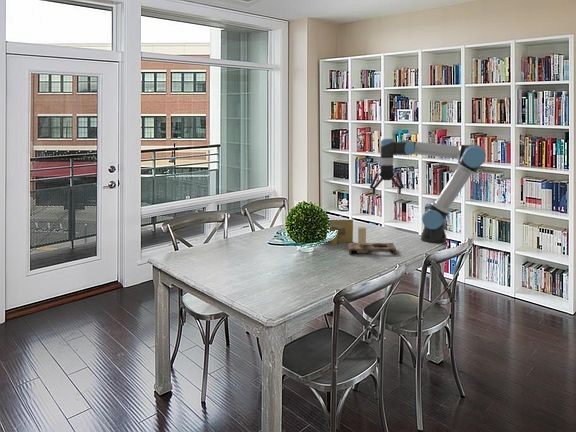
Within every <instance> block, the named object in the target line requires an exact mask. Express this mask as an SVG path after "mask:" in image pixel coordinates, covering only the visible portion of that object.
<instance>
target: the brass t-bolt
mask: <svg viewBox="0 0 576 432" xmlns="http://www.w3.org/2000/svg"><path fill="white" fill-rule="evenodd" d="M357 229H358V231H357V232H358V235H357V236H358V237H357V238H358V239H357V243H359V244H360V246H364V244H366V243H367V228H366V227H365V226H359V227H357ZM355 251H356V254H368V252H369V250H355Z"/></svg>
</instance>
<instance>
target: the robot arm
mask: <svg viewBox="0 0 576 432" xmlns="http://www.w3.org/2000/svg"><path fill="white" fill-rule="evenodd" d="M394 140H395V139H394V138H382V139H381V140H380V173H378V172H375V174H374V177H373V179H372V181H371V184H370V185H369V188H370V189H372V195H374V197H373V199H374V201H377V189H376V188H377V187H378V186H379V185H380V184H381V183H382V182H383V181H392V182H393V184H394V185H395V186H396V187H397V189H396V200H397V201H400V195H401V193H402V189H404V188H405V186H404V184H403V182H402V180H401V178H400V175H399V172H396V171H395V172H394V156H399V155H400V156H401V155H403V156H404V155H406V156H409V155H410V156H411V155H417V156H418V155H420V156H428V157H436V158H437V157H438V158H446V159H454V160H458V161H457V168H455V170H454V172H452V173H453V174H452V175H451V176H450V178H449V179H448V181H447V182H446V184H445V186H444V187H443V189H442V191H440V193H439V194H438V197H437V198H436V199H435V200H434V201H431V202H427V203H425V205H424V213H423V214H422V218H421V221H422V224H423V225H424V226H423V230H422V233H421V236H420V240H421V241H423V242H426V243H445V242H446V241H447V234H446V231H445V220H446V217H448V215H449V213H450V212H449V208H450V207H451V205H452V204H453V202H454V201H455V199H456V198H457V197H458V195H459V194H460V192H461V191H462V189H463V188H464V187H465V184H466V183H467V182H468V180H469V179H470V177H471V176H472V175H473V174H476V173H477V171H479V169H480V167H481V166H482V165H483V164H484V163H485V161H486V158H487V155H486V152H485V149H484V148H483V147H482V146H481V145H478V144H460V145H452V144H451V145H450V144H449V145H448V144H441V143H433V142H432V143H431V142H430V143H429V142H420V141H414V140H413V141H411V140H404V141H394ZM394 176H395V177H396V178H397V181H398V182H397V181H396V180H395V179H394ZM378 177H380V178H379V179H378ZM377 179H378V181H377ZM376 181H377V182H376ZM399 184H400V185H399Z"/></svg>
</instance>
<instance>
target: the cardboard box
mask: <svg viewBox="0 0 576 432" xmlns="http://www.w3.org/2000/svg"><path fill="white" fill-rule="evenodd" d="M329 220H330V232H331V231H335V230H338V233H337V235H336V237H335V238H334V239H333V240H331V241H330V242H329V243H331V246H335V245H338V244H337V243H354V242H353V241H354V220H353V219H329Z"/></svg>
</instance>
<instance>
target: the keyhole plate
mask: <svg viewBox="0 0 576 432" xmlns="http://www.w3.org/2000/svg"><path fill="white" fill-rule="evenodd" d="M347 250H348V255H352V251H356V250H368V251H392V254H393V255H397V247H396V245H395V244H394V242H366V244H364V246H360V244H359V243H358V242H347Z"/></svg>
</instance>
